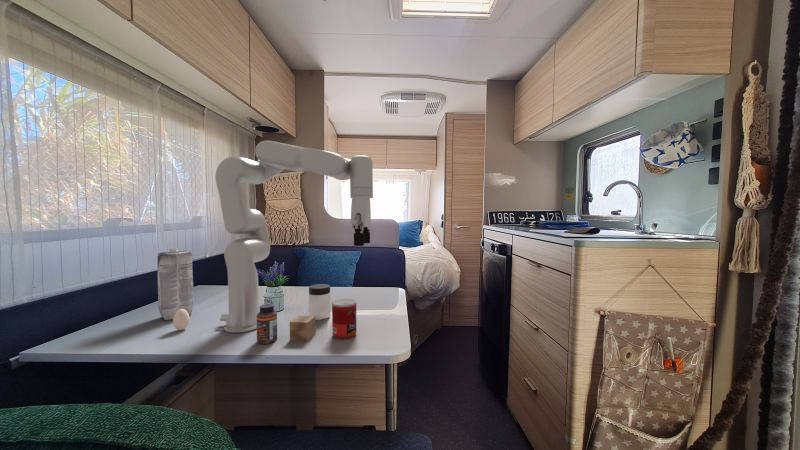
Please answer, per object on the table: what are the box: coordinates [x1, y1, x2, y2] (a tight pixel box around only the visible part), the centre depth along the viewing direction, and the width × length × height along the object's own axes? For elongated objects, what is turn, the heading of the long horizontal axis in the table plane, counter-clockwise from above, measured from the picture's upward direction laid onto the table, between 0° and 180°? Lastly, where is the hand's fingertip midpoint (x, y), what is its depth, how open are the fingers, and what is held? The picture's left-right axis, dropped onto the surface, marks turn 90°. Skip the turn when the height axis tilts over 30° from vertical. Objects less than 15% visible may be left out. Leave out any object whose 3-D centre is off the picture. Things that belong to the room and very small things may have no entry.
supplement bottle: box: [256, 303, 278, 345], centre depth 95 cm, size 6×6×11 cm
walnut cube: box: [289, 315, 316, 342], centre depth 98 cm, size 6×6×6 cm
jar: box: [308, 283, 331, 321], centre depth 118 cm, size 9×8×12 cm
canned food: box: [331, 298, 357, 340], centre depth 99 cm, size 8×8×11 cm
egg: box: [172, 309, 191, 331], centre depth 104 cm, size 5×5×7 cm
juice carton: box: [156, 247, 194, 321], centre depth 119 cm, size 9×10×27 cm
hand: (362, 244), depth 101 cm, fingers open, 9 cm apart
